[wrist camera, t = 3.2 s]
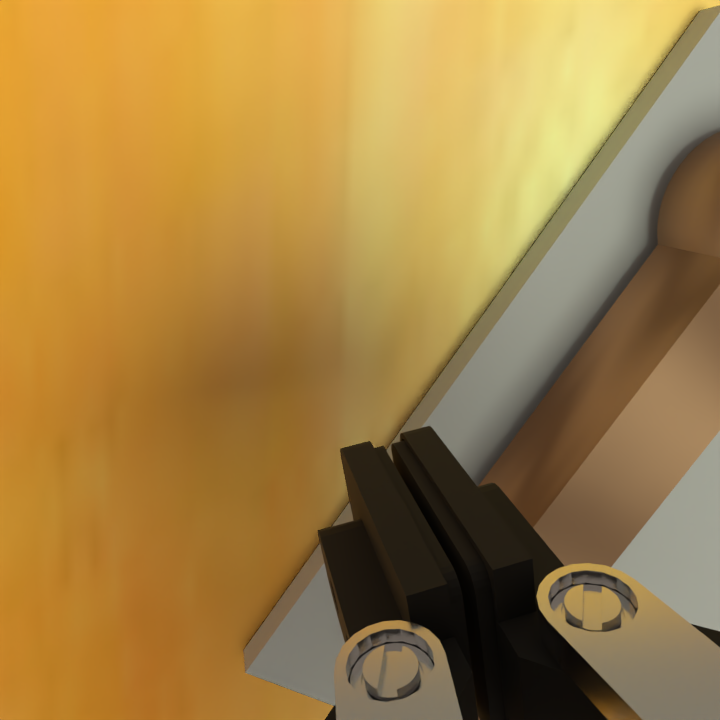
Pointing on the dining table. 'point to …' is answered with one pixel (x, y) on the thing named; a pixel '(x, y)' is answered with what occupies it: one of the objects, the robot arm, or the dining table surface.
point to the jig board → (555, 364)
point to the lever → (631, 389)
